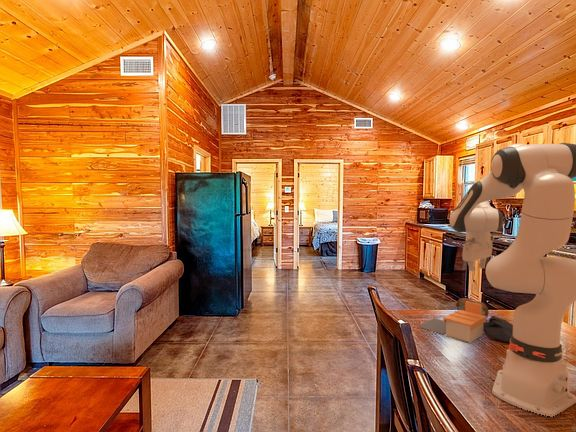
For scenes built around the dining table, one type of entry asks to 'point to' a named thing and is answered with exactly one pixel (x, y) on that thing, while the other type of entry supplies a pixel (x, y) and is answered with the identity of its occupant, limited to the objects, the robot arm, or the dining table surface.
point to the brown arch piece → (462, 301)
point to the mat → (435, 326)
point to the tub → (463, 332)
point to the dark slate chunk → (498, 329)
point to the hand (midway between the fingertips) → (476, 269)
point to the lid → (468, 316)
